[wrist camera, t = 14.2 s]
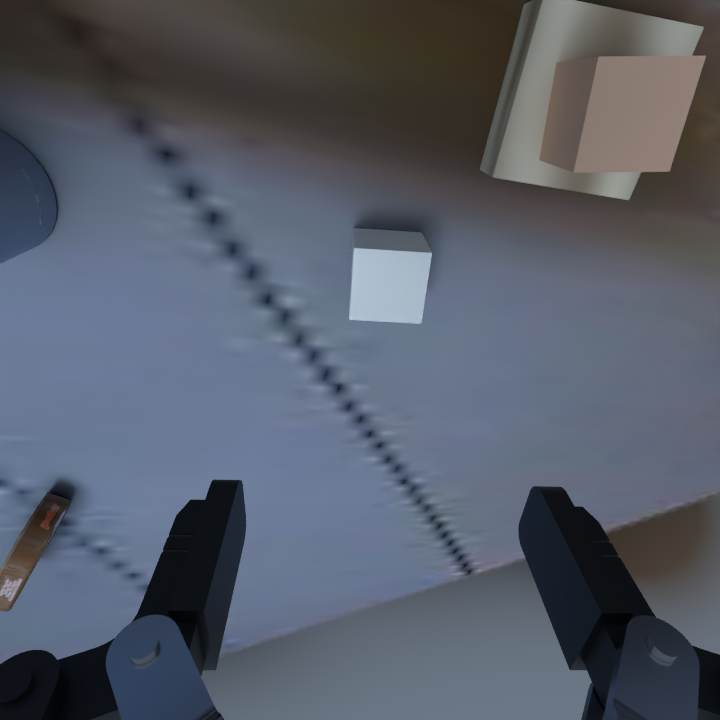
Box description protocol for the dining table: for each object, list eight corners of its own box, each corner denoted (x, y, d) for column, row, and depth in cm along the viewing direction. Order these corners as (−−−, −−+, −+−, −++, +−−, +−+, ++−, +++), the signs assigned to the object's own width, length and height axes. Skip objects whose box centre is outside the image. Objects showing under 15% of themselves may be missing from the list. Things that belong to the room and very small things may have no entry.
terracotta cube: (539, 160, 31) (573, 172, 26) (556, 62, 28) (598, 56, 23) (620, 159, 31) (669, 171, 26) (645, 62, 28) (706, 55, 23)
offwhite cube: (349, 292, 39) (349, 319, 34) (353, 227, 36) (353, 248, 32) (412, 295, 39) (421, 323, 35) (421, 232, 37) (432, 252, 32)
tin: (56, 476, 49) (5, 542, 42) (85, 488, 50) (40, 555, 43) (17, 551, 55) (-33, 620, 48) (44, 560, 56) (-1, 629, 49)
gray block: (478, 168, 34) (492, 177, 31) (521, 5, 30) (544, -7, 26) (601, 189, 35) (629, 200, 32) (664, 34, 30) (704, 27, 27)
